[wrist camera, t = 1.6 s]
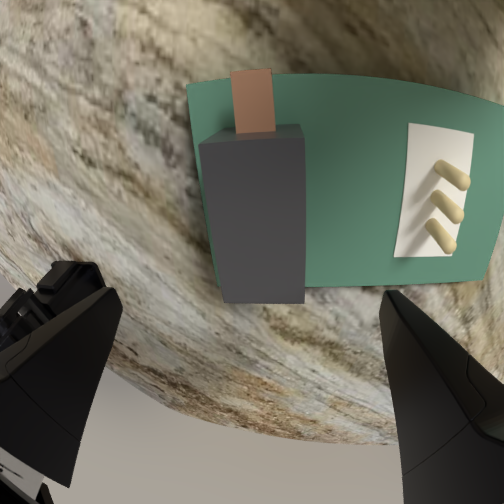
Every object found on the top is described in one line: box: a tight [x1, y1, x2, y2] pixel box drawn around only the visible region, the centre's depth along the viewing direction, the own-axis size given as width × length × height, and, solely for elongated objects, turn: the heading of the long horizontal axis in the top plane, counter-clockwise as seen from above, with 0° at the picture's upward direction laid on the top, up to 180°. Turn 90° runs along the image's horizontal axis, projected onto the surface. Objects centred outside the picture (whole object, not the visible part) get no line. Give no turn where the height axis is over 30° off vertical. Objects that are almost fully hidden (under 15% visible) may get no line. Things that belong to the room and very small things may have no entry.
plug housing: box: [198, 68, 306, 304], centre depth 14 cm, size 11×4×5 cm, turn 5°
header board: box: [186, 74, 504, 287], centre depth 15 cm, size 14×22×4 cm, turn 95°
